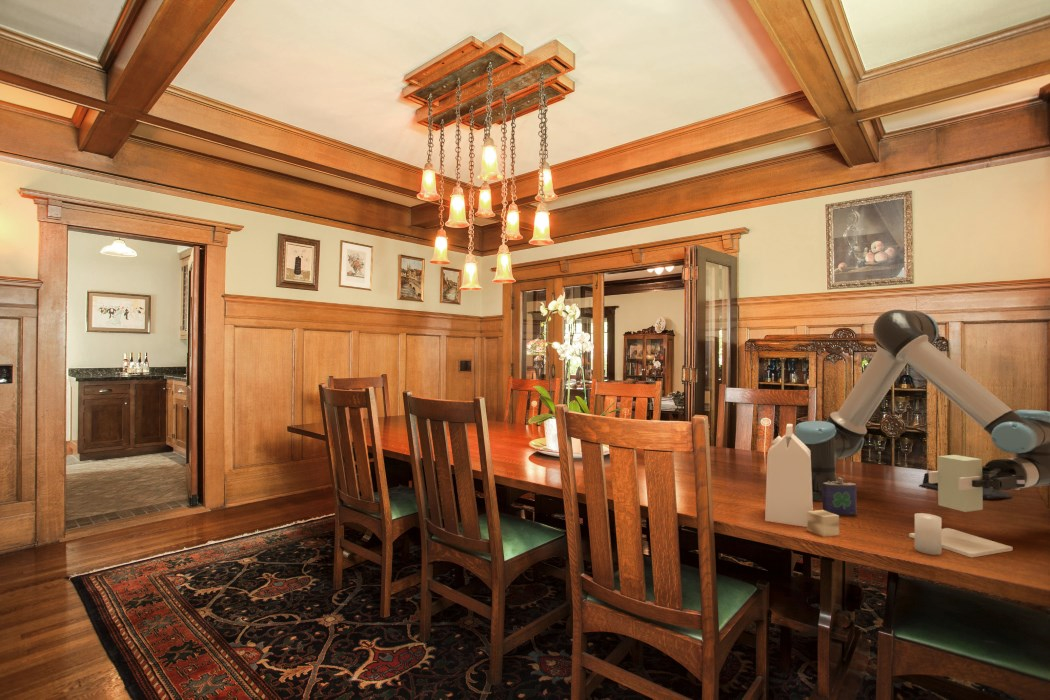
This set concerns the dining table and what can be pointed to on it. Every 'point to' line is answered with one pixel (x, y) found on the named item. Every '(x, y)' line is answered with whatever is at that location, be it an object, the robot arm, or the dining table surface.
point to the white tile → (969, 544)
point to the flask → (839, 498)
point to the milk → (788, 481)
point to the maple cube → (823, 523)
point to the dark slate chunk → (987, 493)
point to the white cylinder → (928, 534)
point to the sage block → (949, 482)
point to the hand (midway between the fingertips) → (945, 480)
